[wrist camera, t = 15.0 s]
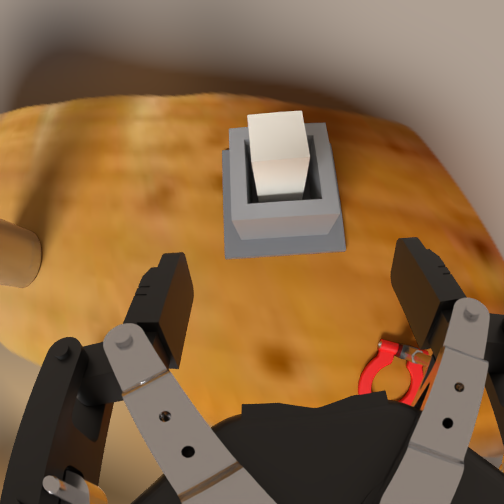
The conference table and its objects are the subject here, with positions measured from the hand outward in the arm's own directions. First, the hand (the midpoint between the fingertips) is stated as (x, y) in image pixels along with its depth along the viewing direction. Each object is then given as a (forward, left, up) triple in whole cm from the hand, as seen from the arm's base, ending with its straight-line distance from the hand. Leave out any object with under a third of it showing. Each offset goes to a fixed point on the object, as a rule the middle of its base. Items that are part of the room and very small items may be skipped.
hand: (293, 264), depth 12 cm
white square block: (0, +12, -24) cm, 27 cm away
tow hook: (+13, -11, -25) cm, 30 cm away
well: (+1, +12, -25) cm, 28 cm away
